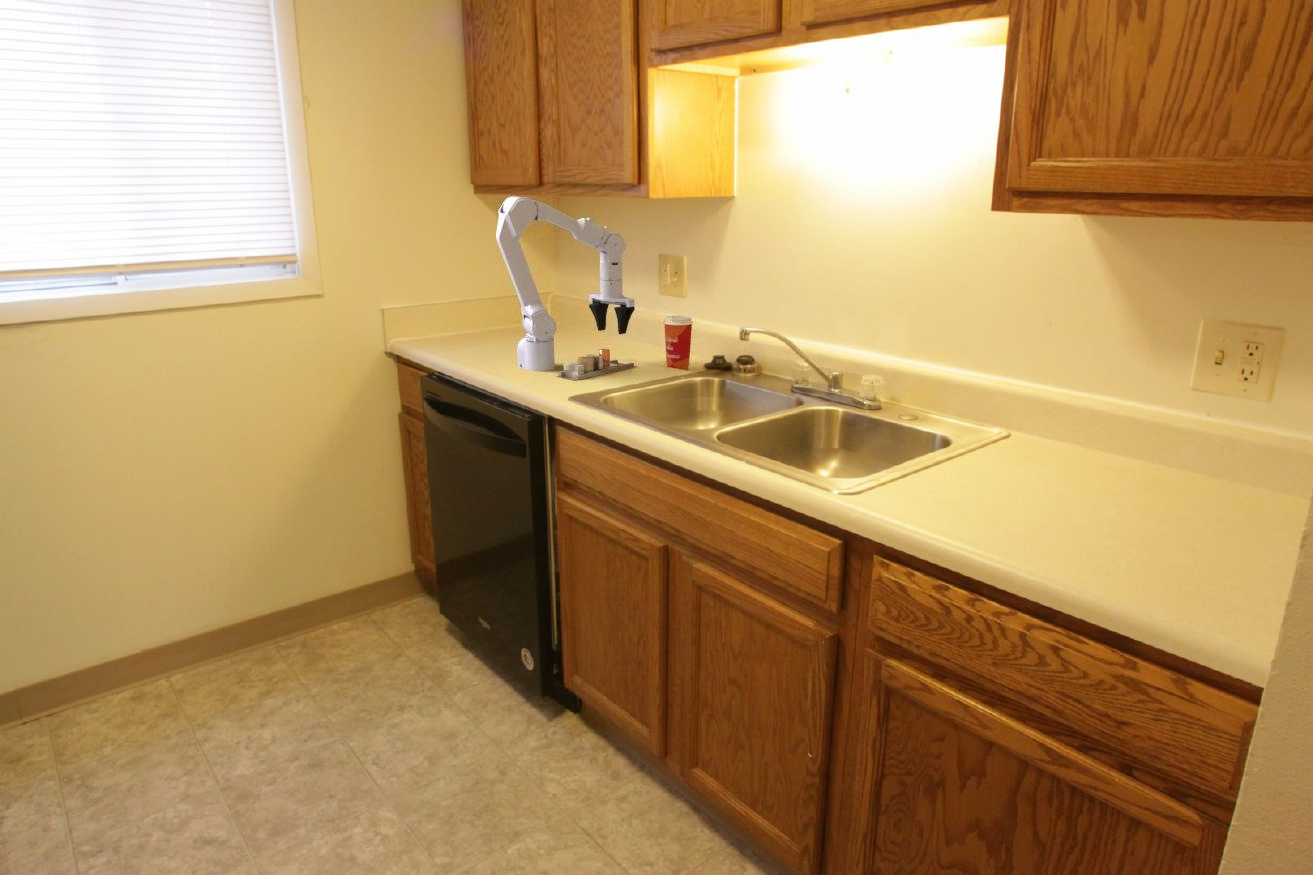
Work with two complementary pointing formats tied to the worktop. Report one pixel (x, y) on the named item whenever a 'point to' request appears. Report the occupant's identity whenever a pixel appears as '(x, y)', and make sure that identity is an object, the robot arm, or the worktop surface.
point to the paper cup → (678, 341)
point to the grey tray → (577, 372)
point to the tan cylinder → (586, 363)
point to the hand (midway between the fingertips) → (611, 332)
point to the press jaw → (602, 360)
